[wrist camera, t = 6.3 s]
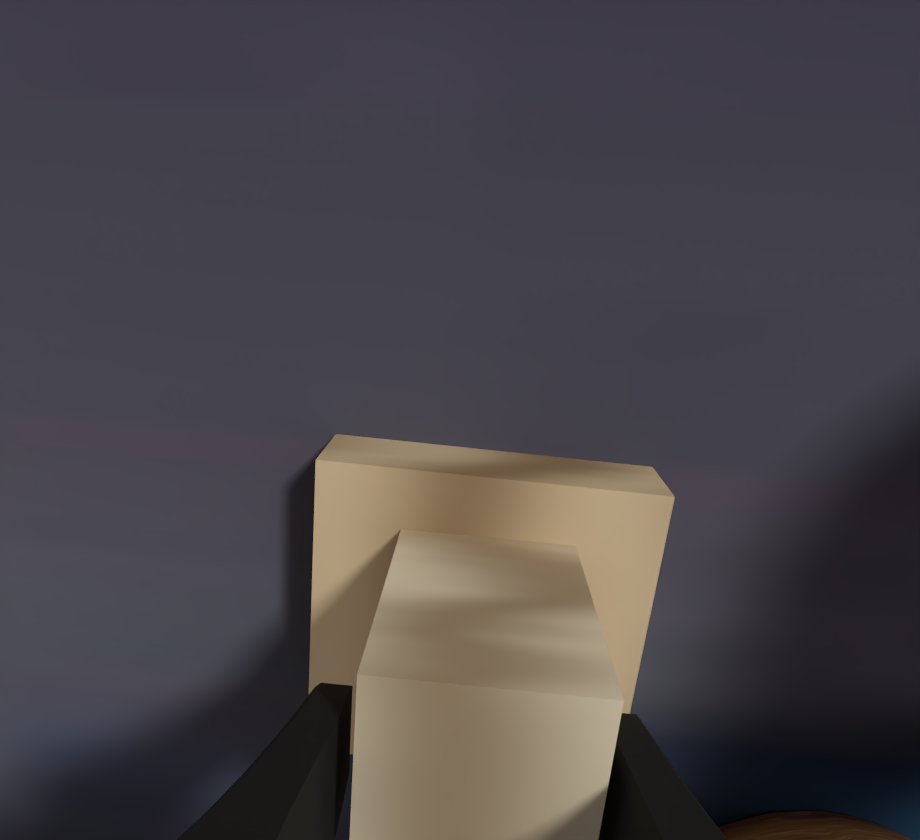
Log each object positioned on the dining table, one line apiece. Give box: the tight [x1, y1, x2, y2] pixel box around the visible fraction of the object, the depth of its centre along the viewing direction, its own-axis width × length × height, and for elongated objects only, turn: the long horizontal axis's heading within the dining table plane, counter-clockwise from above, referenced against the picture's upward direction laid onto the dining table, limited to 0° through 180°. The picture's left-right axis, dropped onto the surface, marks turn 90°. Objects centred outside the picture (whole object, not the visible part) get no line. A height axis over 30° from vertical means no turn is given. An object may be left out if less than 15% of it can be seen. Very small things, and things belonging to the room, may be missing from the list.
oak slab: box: [309, 434, 675, 754], centre depth 16 cm, size 8×8×2 cm
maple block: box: [349, 529, 624, 840], centre depth 12 cm, size 4×4×5 cm
